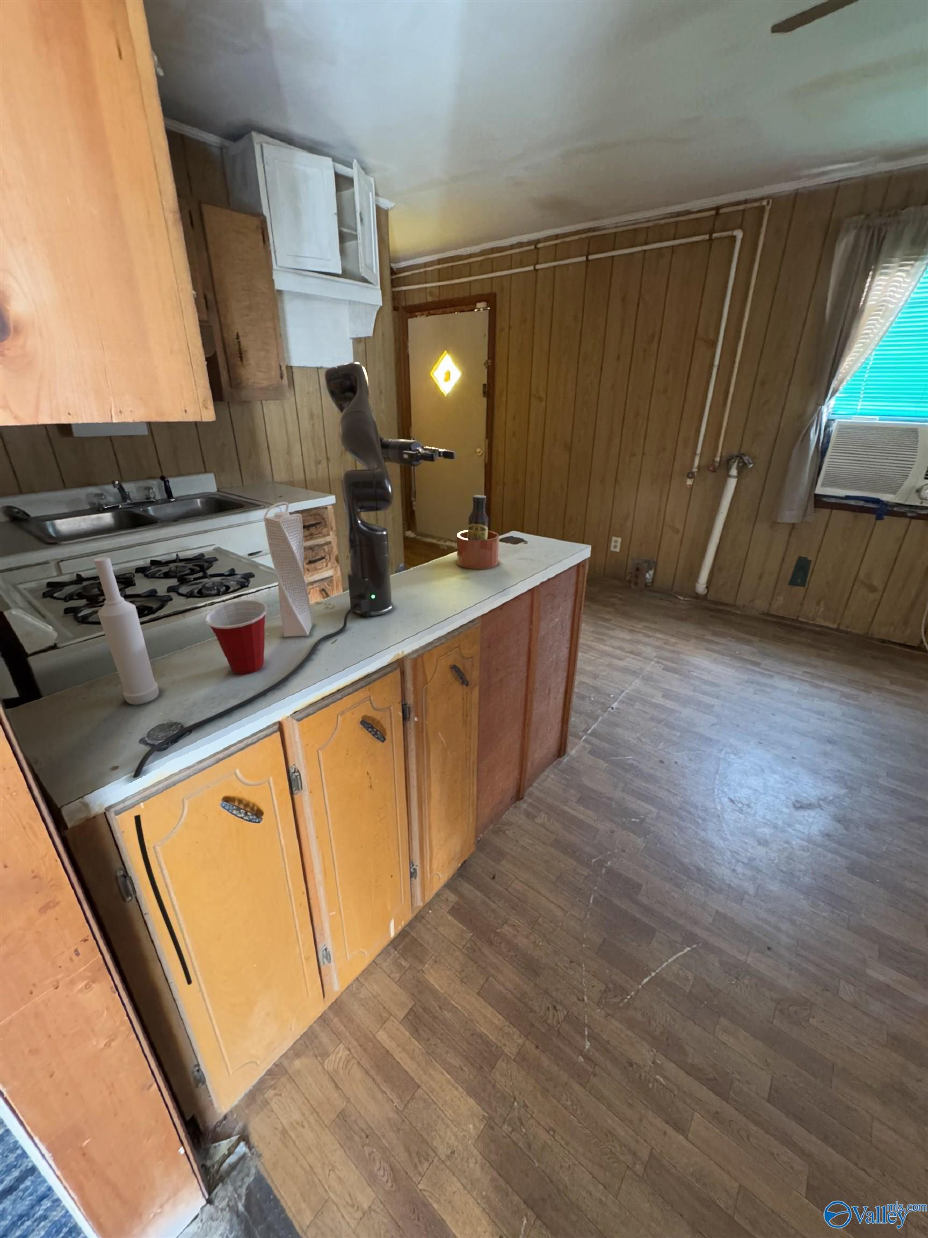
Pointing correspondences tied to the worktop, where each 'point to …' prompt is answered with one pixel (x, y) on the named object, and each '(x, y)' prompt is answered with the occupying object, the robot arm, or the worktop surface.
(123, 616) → the bottle
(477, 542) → the crock
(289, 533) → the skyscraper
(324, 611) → the worktop surface
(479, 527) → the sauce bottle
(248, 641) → the plastic cup
